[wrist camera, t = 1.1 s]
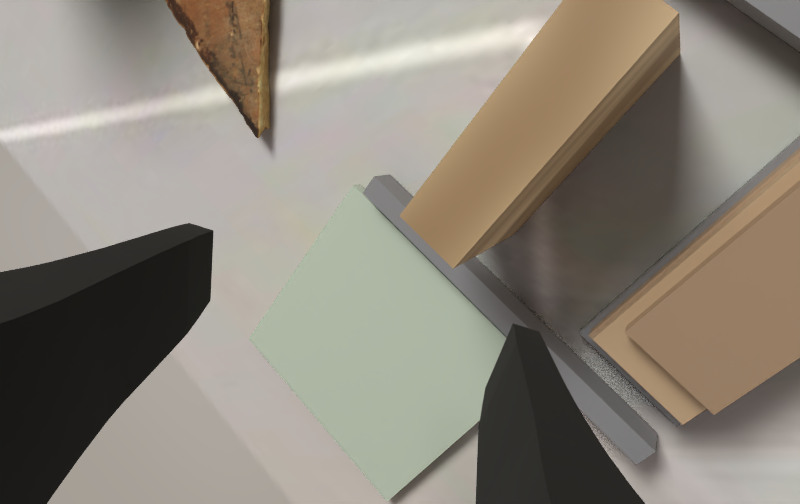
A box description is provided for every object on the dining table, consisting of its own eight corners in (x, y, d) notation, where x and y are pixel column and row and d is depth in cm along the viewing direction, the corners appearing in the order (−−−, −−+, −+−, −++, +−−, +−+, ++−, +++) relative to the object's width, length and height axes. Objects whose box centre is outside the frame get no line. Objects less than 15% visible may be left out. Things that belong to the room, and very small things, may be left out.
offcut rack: (1039, 169, 15) (1114, 175, 12) (638, 445, 22) (632, 487, 19) (605, -127, 18) (593, -171, 16) (379, 190, 25) (344, 196, 23)
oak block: (680, 53, 18) (678, 12, 12) (514, 234, 23) (453, 268, 17) (625, 12, 19) (598, -47, 13) (473, 195, 23) (399, 215, 17)
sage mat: (541, 364, 23) (537, 369, 22) (392, 495, 28) (386, 501, 28) (359, 184, 26) (353, 185, 25) (255, 335, 31) (248, 338, 31)
